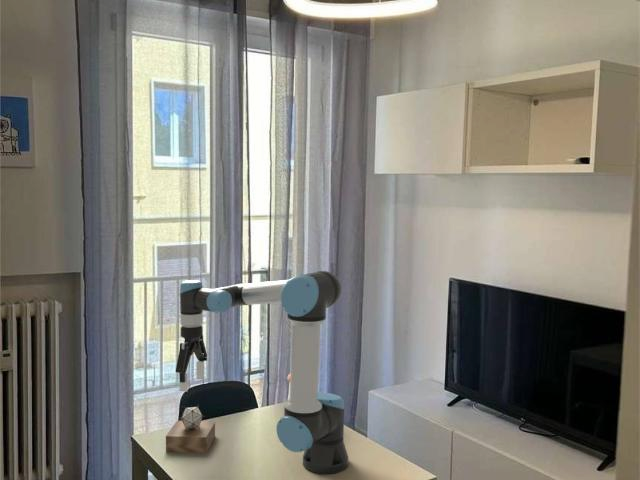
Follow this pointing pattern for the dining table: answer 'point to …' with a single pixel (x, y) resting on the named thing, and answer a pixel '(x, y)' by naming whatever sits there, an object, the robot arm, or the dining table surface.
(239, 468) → the dining table surface
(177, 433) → the walnut block
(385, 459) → the dining table surface
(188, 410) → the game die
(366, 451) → the dining table surface
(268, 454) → the dining table surface
